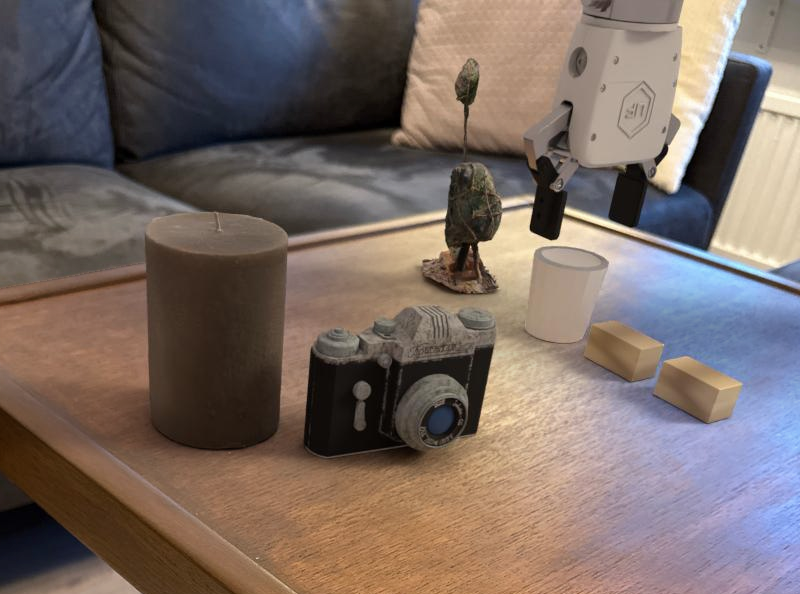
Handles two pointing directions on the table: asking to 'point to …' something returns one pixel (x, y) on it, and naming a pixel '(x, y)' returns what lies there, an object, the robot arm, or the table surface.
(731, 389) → the bar
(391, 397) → the camera
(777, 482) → the table surface
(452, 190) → the plant with pod
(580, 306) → the white cup
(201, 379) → the pillar candle
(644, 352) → the bar
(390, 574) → the table surface
